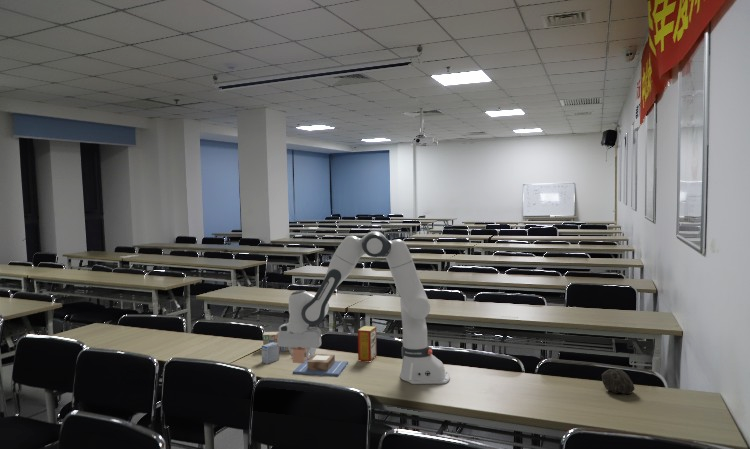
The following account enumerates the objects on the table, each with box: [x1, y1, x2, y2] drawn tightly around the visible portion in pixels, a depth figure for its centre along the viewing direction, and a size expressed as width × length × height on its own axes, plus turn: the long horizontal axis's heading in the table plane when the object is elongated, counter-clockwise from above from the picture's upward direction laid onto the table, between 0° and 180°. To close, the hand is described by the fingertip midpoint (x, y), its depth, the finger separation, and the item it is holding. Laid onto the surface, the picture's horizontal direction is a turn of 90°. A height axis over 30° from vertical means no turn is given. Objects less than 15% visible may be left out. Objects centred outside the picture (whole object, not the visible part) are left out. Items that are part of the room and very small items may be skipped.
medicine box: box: [261, 342, 280, 365], centre depth 245 cm, size 8×4×9 cm, turn 144°
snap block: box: [292, 347, 308, 364], centre depth 220 cm, size 5×5×6 cm
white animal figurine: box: [307, 348, 317, 360], centre depth 251 cm, size 6×8×12 cm
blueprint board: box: [292, 353, 349, 377], centre depth 233 cm, size 22×18×5 cm
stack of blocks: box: [262, 331, 295, 352], centre depth 266 cm, size 21×6×12 cm, turn 96°
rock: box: [601, 368, 635, 395], centre depth 198 cm, size 10×11×10 cm
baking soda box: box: [357, 325, 378, 362], centre depth 247 cm, size 10×6×16 cm
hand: (299, 356), depth 220 cm, fingers closed on snap block, 5 cm apart
